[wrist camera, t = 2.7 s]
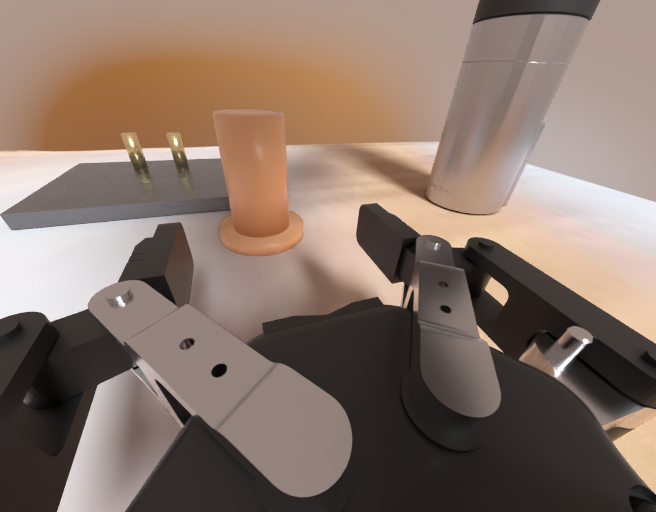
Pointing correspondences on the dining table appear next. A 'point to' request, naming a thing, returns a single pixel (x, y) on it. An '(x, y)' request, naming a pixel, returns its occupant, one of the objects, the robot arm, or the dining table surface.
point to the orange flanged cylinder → (256, 183)
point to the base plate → (125, 190)
